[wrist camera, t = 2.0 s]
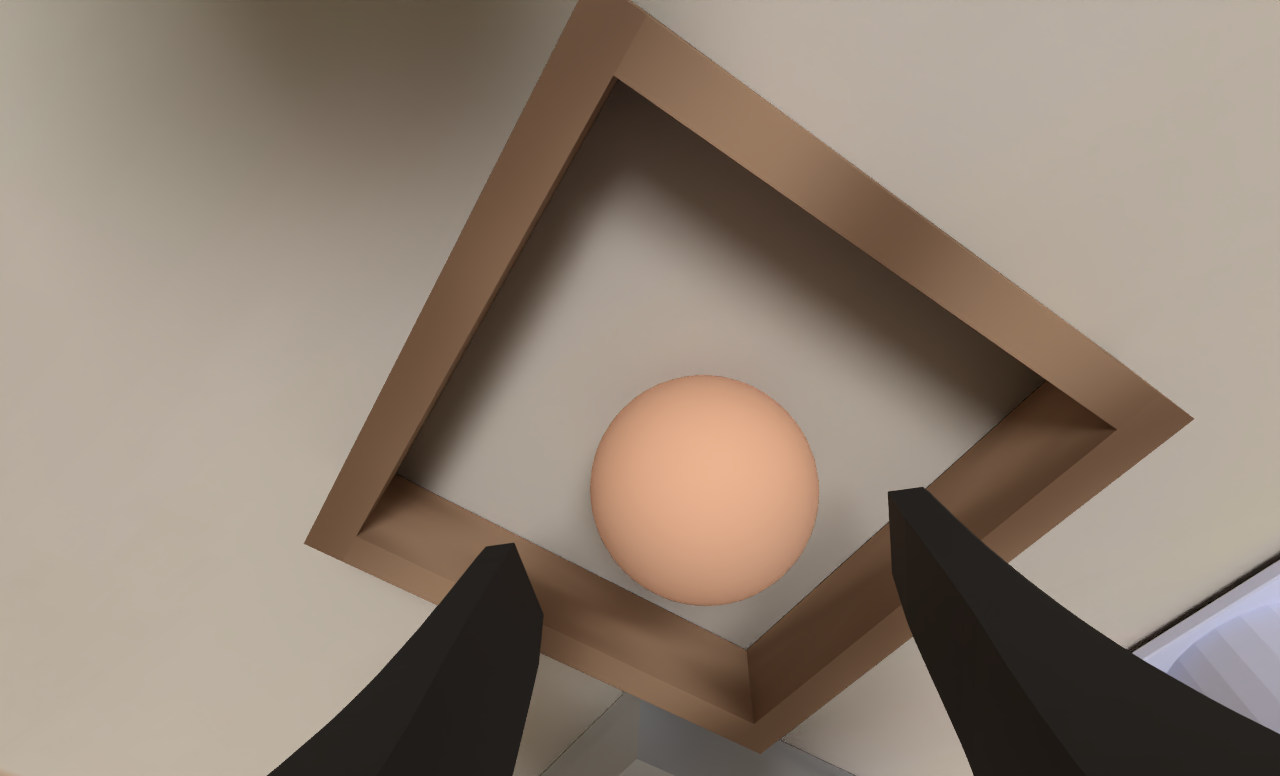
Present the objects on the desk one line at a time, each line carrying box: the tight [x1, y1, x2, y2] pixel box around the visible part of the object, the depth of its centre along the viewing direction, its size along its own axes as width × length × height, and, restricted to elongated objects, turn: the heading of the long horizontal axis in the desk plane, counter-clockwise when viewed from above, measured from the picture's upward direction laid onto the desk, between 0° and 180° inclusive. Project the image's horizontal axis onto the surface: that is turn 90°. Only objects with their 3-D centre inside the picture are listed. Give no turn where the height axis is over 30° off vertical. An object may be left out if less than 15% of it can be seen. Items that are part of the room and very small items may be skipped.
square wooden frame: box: [304, 0, 1194, 754], centre depth 16 cm, size 14×14×2 cm
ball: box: [590, 375, 819, 606], centre depth 15 cm, size 5×5×5 cm
